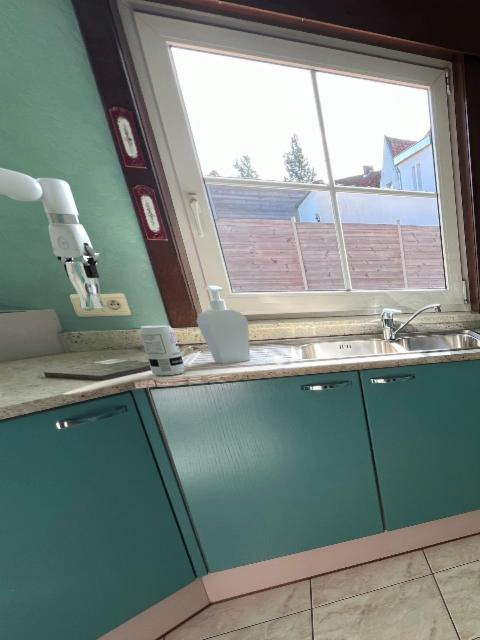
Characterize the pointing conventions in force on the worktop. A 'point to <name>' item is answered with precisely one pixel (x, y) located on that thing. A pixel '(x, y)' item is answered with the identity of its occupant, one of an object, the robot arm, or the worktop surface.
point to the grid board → (101, 370)
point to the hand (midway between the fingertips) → (83, 277)
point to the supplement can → (162, 349)
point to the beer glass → (85, 286)
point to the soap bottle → (224, 330)
